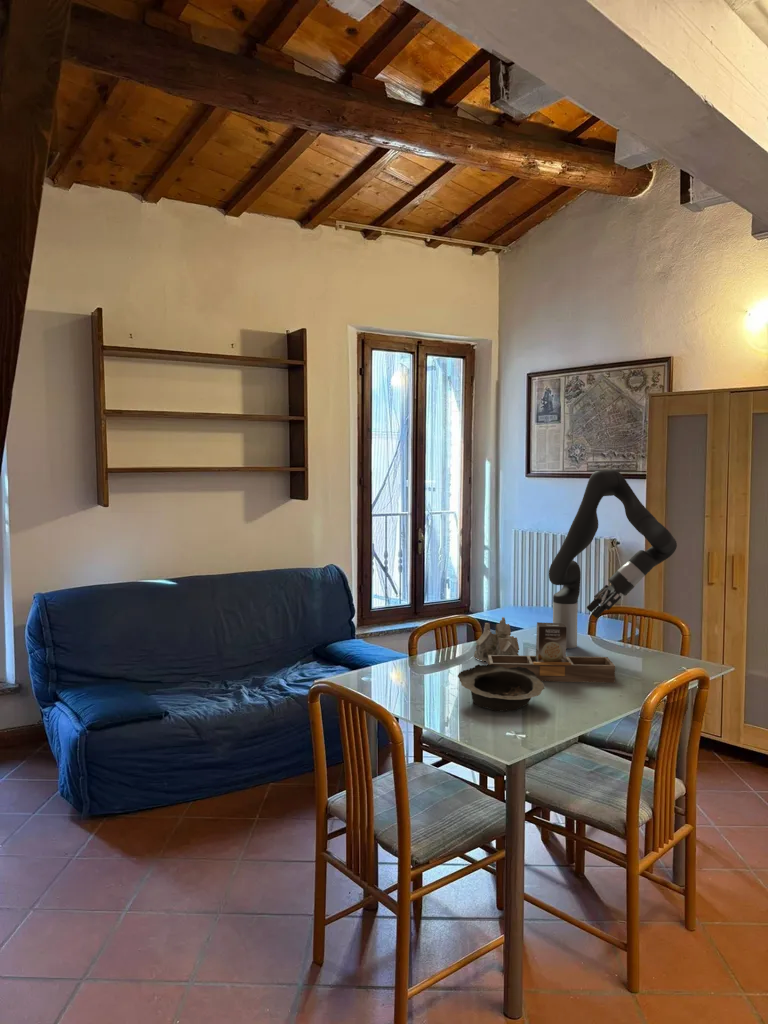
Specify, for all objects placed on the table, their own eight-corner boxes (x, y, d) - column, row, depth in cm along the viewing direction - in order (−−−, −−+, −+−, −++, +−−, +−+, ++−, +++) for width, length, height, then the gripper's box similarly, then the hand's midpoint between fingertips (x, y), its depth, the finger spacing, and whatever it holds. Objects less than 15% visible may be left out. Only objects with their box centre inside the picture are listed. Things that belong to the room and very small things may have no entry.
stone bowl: (485, 685, 232) (488, 657, 231) (557, 707, 216) (560, 677, 215) (441, 703, 213) (444, 673, 212) (517, 729, 197) (519, 696, 196)
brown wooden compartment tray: (487, 670, 249) (488, 653, 248) (607, 673, 246) (607, 655, 245) (490, 680, 237) (490, 662, 237) (615, 683, 234) (615, 664, 234)
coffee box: (537, 674, 239) (538, 626, 238) (535, 669, 245) (535, 622, 244) (566, 675, 238) (566, 626, 237) (563, 669, 245) (563, 622, 244)
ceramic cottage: (472, 653, 272) (474, 614, 270) (516, 655, 271) (519, 616, 269) (475, 667, 256) (477, 626, 254) (522, 669, 255) (524, 628, 253)
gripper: (613, 566, 245) (578, 600, 247) (623, 573, 231) (587, 609, 233) (629, 582, 245) (594, 616, 247) (640, 590, 231) (604, 625, 233)
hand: (591, 612), depth 240 cm, fingers open, 8 cm apart
